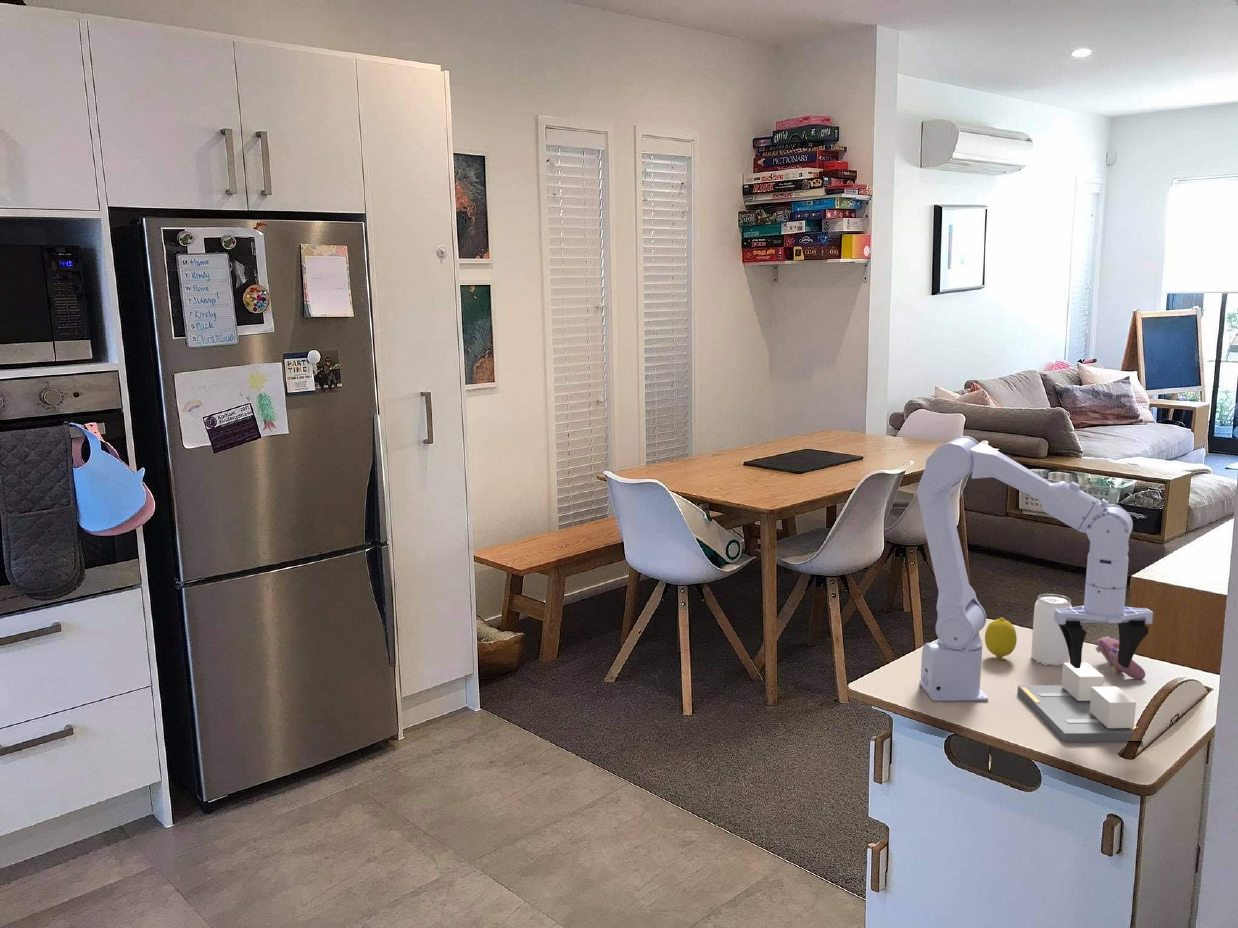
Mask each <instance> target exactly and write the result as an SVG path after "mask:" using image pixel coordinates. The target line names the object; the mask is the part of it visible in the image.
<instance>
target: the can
mask: <svg viewBox="0 0 1238 928" xmlns="http://www.w3.org/2000/svg"><path fill="white" fill-rule="evenodd" d="M1071 601H1072V600H1071V598H1069V597H1067V596H1065V595H1061V594H1055V593H1042V594H1039V595H1038V596H1037V600H1036V602H1035V603H1034V612H1033V625H1032V635H1031V636H1032V637H1031V650H1030V651H1031V652H1030V654H1031V659H1032V660H1033V661H1035V660H1036V661H1038V662H1039V663H1038V662H1037V663H1038V664H1041V663H1044V664H1047V665H1046V666H1050V665H1061V666H1063V663H1069V662H1070V658H1069V652H1068V648H1067V644H1066V641H1065V638H1064V635H1063V633H1062V631H1061V629H1060V627H1059V625H1058V623H1057V622H1056V621H1054V614H1055V609H1064V608H1071V607H1073V606H1072V603H1071ZM1036 661H1035V662H1036ZM1044 664H1043V665H1044Z"/></svg>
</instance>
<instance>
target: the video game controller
mask: <svg viewBox="0 0 1238 928" xmlns="http://www.w3.org/2000/svg"><path fill="white" fill-rule="evenodd" d="M1095 642H1096V646H1095V651H1096V652H1097V653H1099V654H1100V653H1101V654H1102V655H1103V656H1104V658H1105V660H1106V662H1107V664H1108V665H1109V667H1111V668H1112V670H1113V671H1115V672H1116V673H1117V675H1120V674H1123V673H1124V674H1125V675H1126V676H1128V677H1129V678H1132V679H1134V680H1137V681H1139V680H1141V681H1142V680H1144V679H1145V677H1146V671H1145V670H1144V668H1143V667H1142V666H1141V665H1139V664H1138V663H1137V662H1135V661H1134V660H1133V659H1132V660H1131V662H1130V665H1129V668H1124V667H1123V666H1121V665H1120V664H1119V663H1118V651H1119V639H1118V640H1117V639H1116V638H1113V637H1110V636H1109V635H1107V636H1106V637H1105V636H1102V637H1100V638H1098V639H1096V640H1095Z"/></svg>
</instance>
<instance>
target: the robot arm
mask: <svg viewBox="0 0 1238 928" xmlns="http://www.w3.org/2000/svg"><path fill="white" fill-rule="evenodd" d="M968 475H971V477H970V478H971V479H972V480H974V479H975V480H976V479H987V478H994V479H995V480H997V481H1000V482H1002V483H1004V484H1006V485H1008V486H1010V487H1012V488H1014V489H1016V490H1018V491H1020V492H1023V494H1027V495H1029V496H1030V497H1033V498H1034V499H1036V500H1038V501H1039V502H1040V504H1041V507H1042V510H1043V512H1044V513H1045V514H1047V515H1049V516H1051V517H1052V518H1055V519H1057V520H1059V521H1060V522H1062V523H1064V524H1065V525H1067V526H1069V527H1071V528H1072V529H1074V530H1076V531H1078V532H1079V533H1085V534H1086V536H1087V538H1088V540H1089V542H1090V543H1089V552H1088V553H1087V560H1086V561H1087V564H1086V572H1085V573H1086V575H1085V586H1084V598H1083V600H1084V601H1083V605H1079V606H1072V607H1071V608H1064V609H1055V614H1054V621H1056V622H1057V623H1058V625H1059V627H1060V629H1061V631H1062V633H1063V635H1064V638H1065V641H1066V644H1067V648H1068V652H1069V663H1070V664H1071V665H1072V666H1073V667H1075V668H1080V666H1081V663H1082V655H1083V652H1082V651H1083V648H1084V647H1083V646H1084V643H1085V639H1086V635H1087V631H1086V630H1085V629H1084V628H1083V625H1081V624H1091V623H1092V624H1094V623H1096V624H1099V623H1101V624H1102V623H1104V624H1106V623H1108V624H1117V625H1118V627H1117V628H1118V638H1119V639H1118V641H1119V651H1118V663H1119V664H1120V665H1121V666H1123V667H1124V668H1129V665H1130V662H1131V660H1133V656H1134V655H1135V653H1136V650H1137V649H1138V648H1139V645H1140V644H1141V643H1142V641H1143V640H1144V638H1145V637H1146V636H1148V634H1149V629H1150V627H1148V626H1147V625H1151V624H1153V618H1154V617H1153V616H1154V611H1152V610H1150V609H1149V608H1147V607H1142V608H1141V607H1131V606H1126V593H1127V582H1128V573H1129V571H1128V570H1129V569H1128V568H1129V555H1128V554H1129V551H1130V546H1129V540H1130V535H1131V533H1132V531H1133V527H1134V524H1133V519H1132V517H1131V516H1132V515H1130V513H1129V512H1128V511H1127V510H1125V509H1124V508H1123V507H1122V506H1121V505H1118V504H1113V503H1112V504H1109V503H1110V502H1109V501H1108V500H1106V499H1105V498H1103V499H1102V500H1101V499H1098V498H1096V497H1094V496H1093V495H1090V494H1089V493H1087V492H1085V491H1083V490H1081V489H1080V487H1081V485H1080V484H1078V483H1076V482H1075V481H1071V482H1070V483H1069V482H1066V481H1064V480H1062V481H1057V482H1050V481H1049V480H1047V479H1045V478H1043V477H1042V476H1041V475H1039V474H1037V473H1035V472H1034V471H1032V470H1031V469H1029V468H1028V467H1026V466H1023V465H1022V464H1020V463H1019V462H1017V461H1015V460H1013V459H1012V458H1010V457H1009V456H1008V455H1005V454H1004V453H1002V452H1000V451H999V450H997V449H996V448H994V447H992V446H990V445H989V444H987V443H984V442H979V441H977V440H976V439H975V438H974V437H971V436H966V435H959V436H957V437H955V438H953V439H951V440H950V441H948V442H946V443H944V444H941V445H940V446H938V447H937V448H935V450H934V451H933V452H932V453H931V454H930V455H929V456H928V457H927V458H926V459H925V467H924V470H923V472H922V475H921V478H920V481H919V482H918V486H917V489H916V493H917V494H916V496H917V499H918V505H919V509H920V513H921V518H922V521H923V522H922V523H923V528H924V531H925V537H926V540H927V544H928V549H929V555H930V558H931V563H932V568H933V572H934V573H933V574H934V578H935V582H936V586H937V590H938V593H937V594H938V595H937V602H936V608H935V609H936V611H937V612H936V613H937V618H936V619H937V620H936V624H935V633H936V636H937V640H935V641H932V642H925V643H924V644H923V646H922V651H921V666H920V667H921V669H920V680H919V682H918V683H919V685H921V687H922V688H923V689H924V691H925V692H926V694H927V695H928V697H929V698H930V700H932V701H934V702H944V701H945V702H949V701H951V702H953V701H954V702H956V701H957V702H959V701H963V702H964V701H965V702H967V701H973V702H974V701H988V700H989V697H988V695H987V694H986V693H985V692H984V691H983V690H982V688H981V676H982V675H981V673H982V672H981V671H982V661H983V660H982V657H983V640H982V638H981V635H980V631H981V630H983V629H984V627H985V625H986V623H987V614H986V611H985V609H984V607H983V606H982V605H981V603H980V601H979V600H978V598H977V594H976V591H975V590H974V588H973V587H972V585H970V582H969V577H968V573H967V569H966V564H965V559H964V554H963V550H962V545H961V541H960V536H959V532H958V527H957V522H956V517H955V514H954V513H955V512H954V509H953V505H952V499H951V495H952V493H953V492H954V491H955V489H956V488H957V487H958V486H959V485H960V483H961V482H962V481H963V479H964V478H966V477H968Z"/></svg>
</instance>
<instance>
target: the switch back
mask: <svg viewBox="0 0 1238 928" xmlns="http://www.w3.org/2000/svg"><path fill="white" fill-rule="evenodd" d="M1104 682H1105V675H1103V674H1102V673H1101V672H1099V671H1098V670H1097V669H1096V668H1094V667H1093V666H1092V665H1091V664H1090V663H1088V662H1082V661H1081V666H1080V668H1075V667H1073V666H1072V665H1071V664H1070V662H1067V663H1063V665H1062V676H1061V685H1062V687H1063V688H1064V689H1065V690H1067V691H1068V692H1069V693H1070V694H1071V695H1072V696H1073V697H1074V698H1075V699H1076V700H1077V701H1090V698H1091V687H1104V685H1105V684H1104Z"/></svg>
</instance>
